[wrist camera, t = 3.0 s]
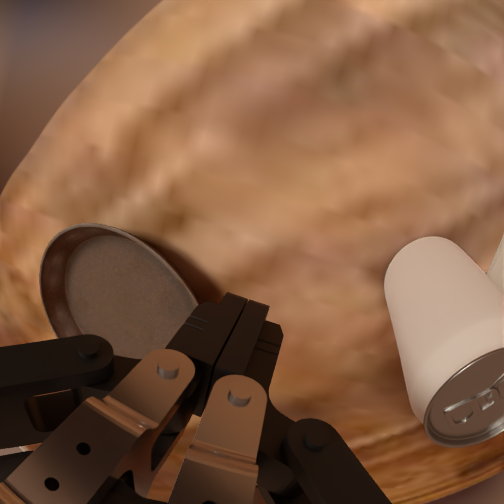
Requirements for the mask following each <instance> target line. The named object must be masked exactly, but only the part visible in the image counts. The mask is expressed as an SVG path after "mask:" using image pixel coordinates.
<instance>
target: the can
mask: <svg viewBox="0 0 504 504" xmlns="http://www.w3.org/2000/svg"><path fill="white" fill-rule="evenodd" d="M384 291H385V297H386V301H387V305H388V309H389V313H390V317H391V321H392V325H393V330H394V334H395V338H396V342H397V347H398V351H399V355H400V360H401V364H402V369H403V374H404V379H405V383H406V388H407V393H408V397H409V402H410V405H411V408H412V411H413V413H414V414H415V416H416V417H417V418H418V420H419V421H420V422H421V423H422V424H423V426H424V431H425V433H426V435H427V437H428V438H429V439H430V440H431V441H432V442H434V443H435V444H437V445H440V446H443V447H450V448H460V447H467V446H472V445H475V444H479V443H482V442H484V441H487V440H489V439H491V438H493V437H495V436H497V435H498V434H500V433H502V432H503V431H504V293H503V292H502V291H501V290H500V289H499V288H498V287H497V286H496V284H495V283H494V282H493V281H492V280H491V279H490V278H489V277H488V276H487V275H486V274H485V272H484V271H483V270H482V269H481V268H480V267H479V266H478V265H477V264H476V263H475V262H474V261H473V260H472V259H471V258H470V257H469V256H468V255H467V254H466V253H465V252H464V251H463V250H462V249H461V248H460V247H459V246H458V245H456V244H455V243H454V242H452V241H450V240H448V239H445V238H442V237H424V238H420V239H418V240H415V241H413V242H411V243H409V244H408V245H406V246H405V247H404V248H402V249H401V250H400V251H399V252H398V253H397V254H396V256H395V257H394V258H393V260H392V261H391V263H390V265H389V267H388V269H387V272H386V276H385V282H384Z"/></svg>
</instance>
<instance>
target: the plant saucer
mask: <svg viewBox="0 0 504 504" xmlns="http://www.w3.org/2000/svg"><path fill="white" fill-rule="evenodd" d="M39 284H40V294H41V298H42V303H43V307H44V310H45V313H46V316H47V318H48V321H49V323H50V325H51V327H52V329H53V331H54V333H55V335H56V337H57V339H58V338H65V337H71V336H77V335H83V334H93V335H97V336H100V337H102V338H104V339H106V340H107V341H108V342H109V343H110V344H111V345H112V347H113V351H114V355H118V356H123V357H128V358H134V359H143V358H144V357H145V356H146V355H147V354H148V353H150V352H152V351H155V350H159V349H165V347H166V346H167V345H168V343H169V342H170V341H171V339H172V338H173V337H174V335H175V334H176V333H177V331H178V330H179V329H180V327H181V326H182V325H183V324H184V323H185V321H186V320H187V318H188V317H190V314H191V313H192V312H193V310H194V309H195V308H196V306H198V305H200V304H199V302H198V300H197V298H196V296H195V295H194V293H193V291H192V290H191V288H190V287H189V285H188V284H187V282H186V281H185V279H184V278H183V277H182V275H181V274H180V273H179V272H178V270H177V269H176V268H175V267H174V266H173V265H172V264H171V263H170V262H169V261H168V260H167V259H166V258H165V257H164V256H163V255H162V254H161V253H159V252H158V251H157V250H156V249H154V248H153V247H152V246H150V245H149V244H147V243H146V242H144V241H143V240H141V239H140V238H138V237H136V236H134V235H132V234H130V233H127V232H125V231H123V230H120V229H117V228H114V227H111V226H107V225H102V224H96V223H83V224H76V225H73V226H70V227H67V228H65V229H64V230H62V231H61V232H59V233H58V234H57V235H55V236H54V238H53V239H52V240H51V241H50V243H49V244H48V246H47V248H46V249H45V252H44V254H43V257H42V260H41V265H40V273H39Z"/></svg>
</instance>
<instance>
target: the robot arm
mask: <svg viewBox="0 0 504 504" xmlns="http://www.w3.org/2000/svg"><path fill="white" fill-rule="evenodd" d="M247 302H248V303H247ZM269 307H270V306H268V305H265V304H262V303H259V302H256V301H253V300H250V299H249V301H248V299H246V298H243V297H241V296H238V295H235V294H232V293H229V292H227V293H226V295H225V296H224V298H223V299H222V301H221V302H220V304H216V303H213V302H211V301H206V302H204V303H202V304H200V305H198V306H196V308H195V309H194V310H193V312H192V313H191V314H190V317H188V318H187V320H186V321H185V323H184V324H183V325H182V326H181V327H180V329H179V330H178V331H177V333H176V334H175V335H174V337H173V338H172V339H171V341H170V342H169V343H168V345H167V346H166V347H165V349H159V350H155V351H152V352H150V353H148V354H147V355H146V356H145V357H144V358H143V359H134V358H128V357H123V356H118V355H114V351H113V347H112V345H111V344H110V343H109V342H108V341H107V340H106V339H104V338H102V337H100V336H97V335H93V334H83V335H77V336H71V337H65V338H58V339H52V340H46V341H39V342H33V343H26V344H19V345H12V346H5V347H0V449H5V448H12V447H19V446H25V445H31V444H37V443H41V444H40V445H39V446H38V447H37V448H36V449H35V450H34V451H25V452H20V453H14V454H9V455H3V456H0V504H392V503H391V502H390V501H389V499H388V498H387V497H386V496H385V494H384V493H383V492H382V490H381V489H380V488H379V486H378V485H377V484H376V483H375V481H374V480H373V479H372V477H371V476H370V475H369V473H368V472H367V471H366V469H365V468H364V467H363V466H362V464H361V463H360V462H359V460H358V459H357V458H356V456H355V455H354V454H353V452H352V451H351V450H350V448H349V447H348V446H347V444H346V443H345V442H344V440H343V439H342V438H341V436H340V435H339V433H338V432H337V431H336V430H335V429H334V428H333V427H332V426H331V425H329V424H328V423H326V422H324V421H321V420H318V419H312V418H307V419H301V420H299V421H297V422H295V421H293V420H291V419H289V418H288V417H286V416H284V415H283V414H281V413H280V412H279V411H278V410H277V409H276V408H275V407H274V406H273V404H272V403H271V401H270V398H269V386H270V383H271V379H272V376H273V372H274V369H275V365H276V362H277V358H278V354H279V351H280V347H281V343H282V340H283V333H282V330H281V327H280V325H279V324H276V323H273V322H269V321H266V317H267V313H268V310H269ZM68 389H71V390H69V391H64V392H59V393H53V394H48V395H42V396H36V395H41V394H47V393H52V392H58V391H63V390H68ZM34 396H36V397H34ZM204 409H205V410H204ZM203 412H204V413H203ZM192 414H194V415H197V416H199V417H201V416H202V414H203V416H202V418H201V421H200V424H199V427H198V429H197V432H196V435H195V437H194V440H193V443H192V445H190V447H189V448H188V451H187V453H186V456H185V458H184V461H183V463H182V466H181V469H180V471H179V474H178V477H177V479H176V482H175V485H174V487H173V490H172V492H171V495H170V498H169V500H168V503H167V502H161V501H156V500H152V499H147V498H146V496H147V494H148V492H149V490H150V488H151V485H152V482H153V480H154V478H155V476H156V474H157V473H158V471H159V470H160V468H161V467H162V465H163V464H164V462H165V461H166V459H167V458H168V456H169V455H170V453H171V452H172V450H173V449H174V447H175V446H176V444H177V443H178V441H179V439H180V438H181V436H182V435H183V433H184V430H185V427H186V426H187V424H188V422H189V420H190V418H191V416H192ZM256 483H257V484H258V487H256Z"/></svg>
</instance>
